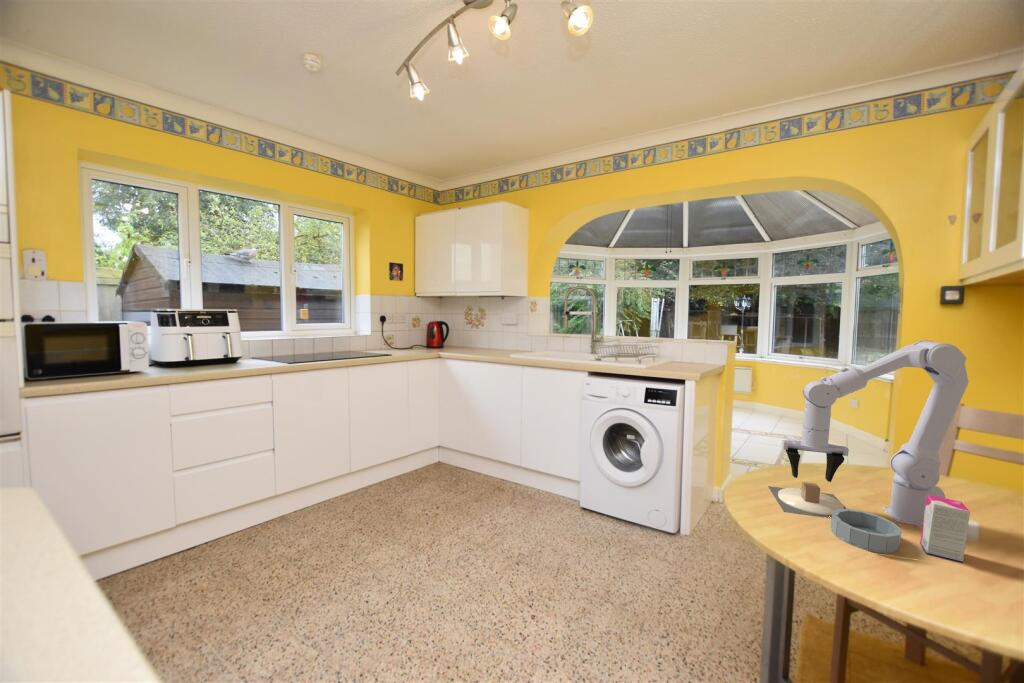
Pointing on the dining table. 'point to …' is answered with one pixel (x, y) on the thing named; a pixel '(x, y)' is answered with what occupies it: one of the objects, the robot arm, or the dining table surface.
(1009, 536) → the dining table surface
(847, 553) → the dining table surface
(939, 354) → the robot arm
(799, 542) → the dining table surface
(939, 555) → the supplement box
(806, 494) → the lid
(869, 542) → the bowl
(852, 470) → the dining table surface
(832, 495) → the mat
